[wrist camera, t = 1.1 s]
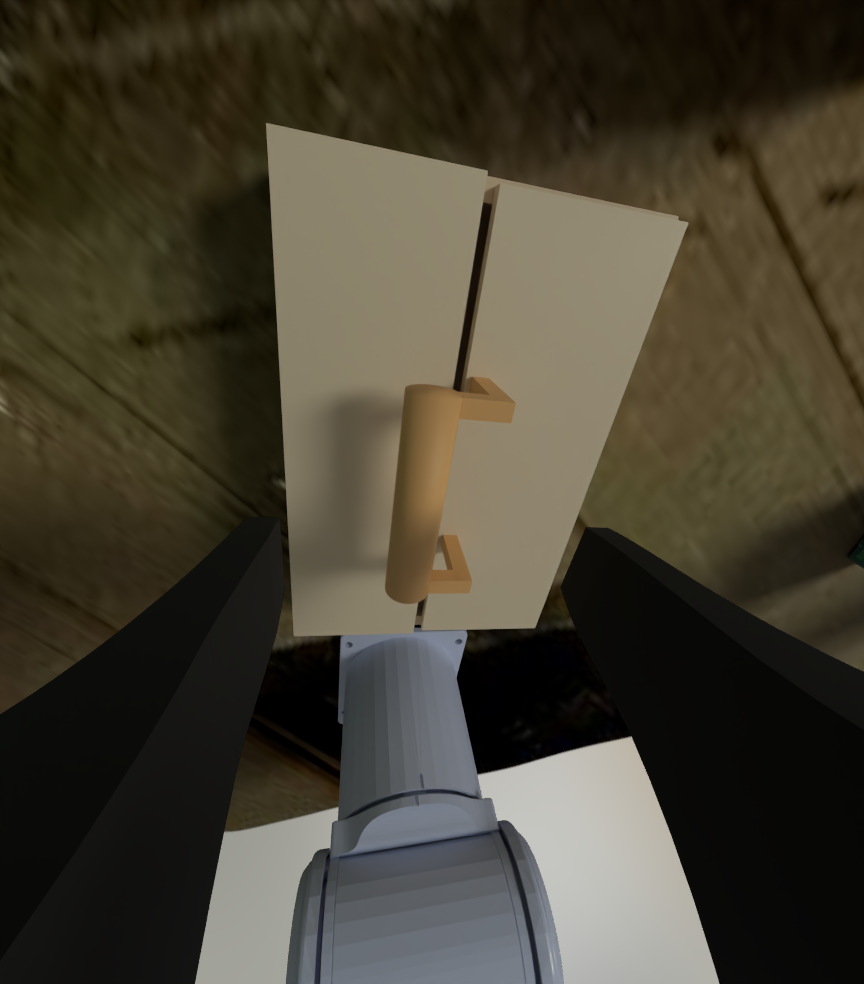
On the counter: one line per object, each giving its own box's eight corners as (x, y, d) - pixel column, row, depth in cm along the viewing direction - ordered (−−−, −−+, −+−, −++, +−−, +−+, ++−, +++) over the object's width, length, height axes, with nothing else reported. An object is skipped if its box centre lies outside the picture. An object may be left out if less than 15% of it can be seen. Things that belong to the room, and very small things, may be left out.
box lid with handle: (531, 620, 21) (562, 686, 17) (374, 623, 19) (375, 696, 16) (677, 224, 12) (790, 208, 9) (415, 169, 11) (436, 126, 7)
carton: (509, 577, 24) (534, 630, 20) (305, 576, 21) (293, 636, 18) (617, 226, 15) (691, 214, 12) (293, 161, 13) (266, 123, 9)
